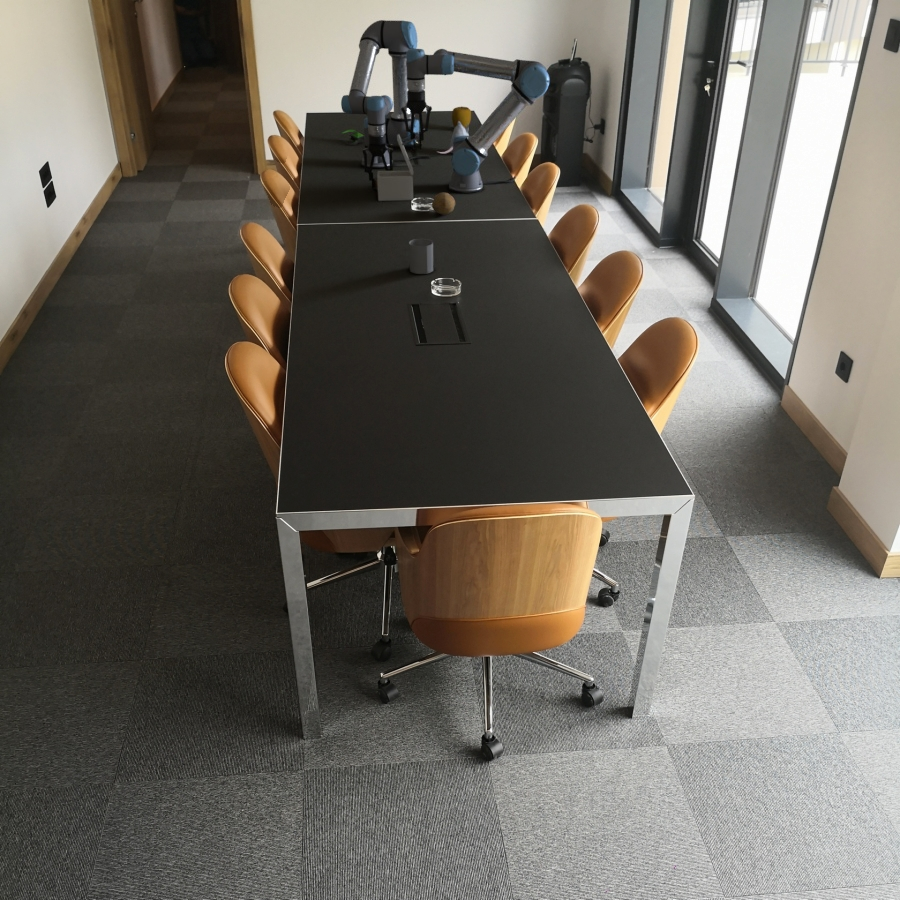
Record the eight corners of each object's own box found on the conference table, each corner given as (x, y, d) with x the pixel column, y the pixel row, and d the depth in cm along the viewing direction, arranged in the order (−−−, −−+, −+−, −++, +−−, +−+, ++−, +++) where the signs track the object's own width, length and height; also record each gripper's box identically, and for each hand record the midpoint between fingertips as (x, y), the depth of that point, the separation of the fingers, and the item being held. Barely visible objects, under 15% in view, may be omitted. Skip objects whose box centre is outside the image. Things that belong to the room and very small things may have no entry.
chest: (378, 200, 378) (377, 177, 373) (378, 194, 386) (377, 170, 381) (413, 200, 379) (412, 176, 373) (412, 193, 387) (411, 170, 382)
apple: (471, 132, 486) (471, 108, 479) (451, 132, 486) (451, 108, 479) (470, 128, 495) (471, 104, 488) (452, 128, 495) (452, 104, 488)
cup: (409, 265, 311) (408, 238, 306) (432, 265, 312) (431, 238, 307) (410, 274, 304) (409, 246, 299) (433, 273, 305) (433, 246, 299)
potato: (453, 208, 369) (453, 189, 365) (456, 218, 357) (456, 199, 353) (431, 208, 368) (430, 189, 364) (432, 218, 356) (432, 199, 352)
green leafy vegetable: (396, 126, 467) (340, 124, 465) (396, 141, 460) (339, 139, 458) (396, 136, 472) (341, 134, 470) (396, 151, 465) (340, 149, 463)
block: (376, 189, 390) (376, 180, 387) (373, 187, 393) (373, 178, 390) (385, 188, 391) (385, 179, 389) (382, 186, 394) (381, 177, 392)
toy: (474, 152, 449) (475, 122, 441) (443, 160, 434) (443, 129, 426) (462, 149, 454) (462, 119, 446) (430, 157, 439) (430, 126, 431)
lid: (397, 140, 365) (417, 132, 364) (396, 135, 373) (416, 126, 372) (411, 175, 373) (431, 167, 372) (410, 169, 381) (429, 161, 380)
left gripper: (355, 136, 375) (359, 190, 388) (398, 136, 376) (399, 189, 389) (356, 132, 381) (359, 185, 394) (397, 131, 382) (399, 184, 395)
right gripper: (398, 92, 356) (400, 150, 368) (434, 91, 357) (435, 150, 369) (397, 88, 362) (399, 146, 375) (433, 88, 363) (434, 146, 376)
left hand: (379, 187), depth 392 cm, fingers closed on block, 5 cm apart
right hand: (417, 148), depth 372 cm, fingers closed on lid, 2 cm apart
